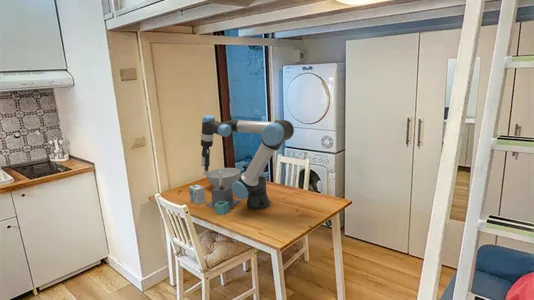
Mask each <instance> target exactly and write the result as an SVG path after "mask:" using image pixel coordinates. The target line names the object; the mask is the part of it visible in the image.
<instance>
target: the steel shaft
mask: <svg viewBox="0 0 534 300" xmlns="http://www.w3.org/2000/svg"><path fill="white" fill-rule="evenodd" d="M218 173H219V184H220V189H224V187H223V177H222V171H219V172H218Z"/></svg>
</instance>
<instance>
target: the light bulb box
mask: <svg viewBox="0 0 534 300" xmlns="http://www.w3.org/2000/svg"><path fill="white" fill-rule="evenodd" d="M188 191H189V199H190V202H192V203H193V202H194V204H196V205H197V204H198V205H200V204H204V203H206V202H207V201H206V200H207V199H206V193H205V191H206V190H205V187H204V186H202V185H199V184H194V185H190V186H188Z"/></svg>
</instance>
